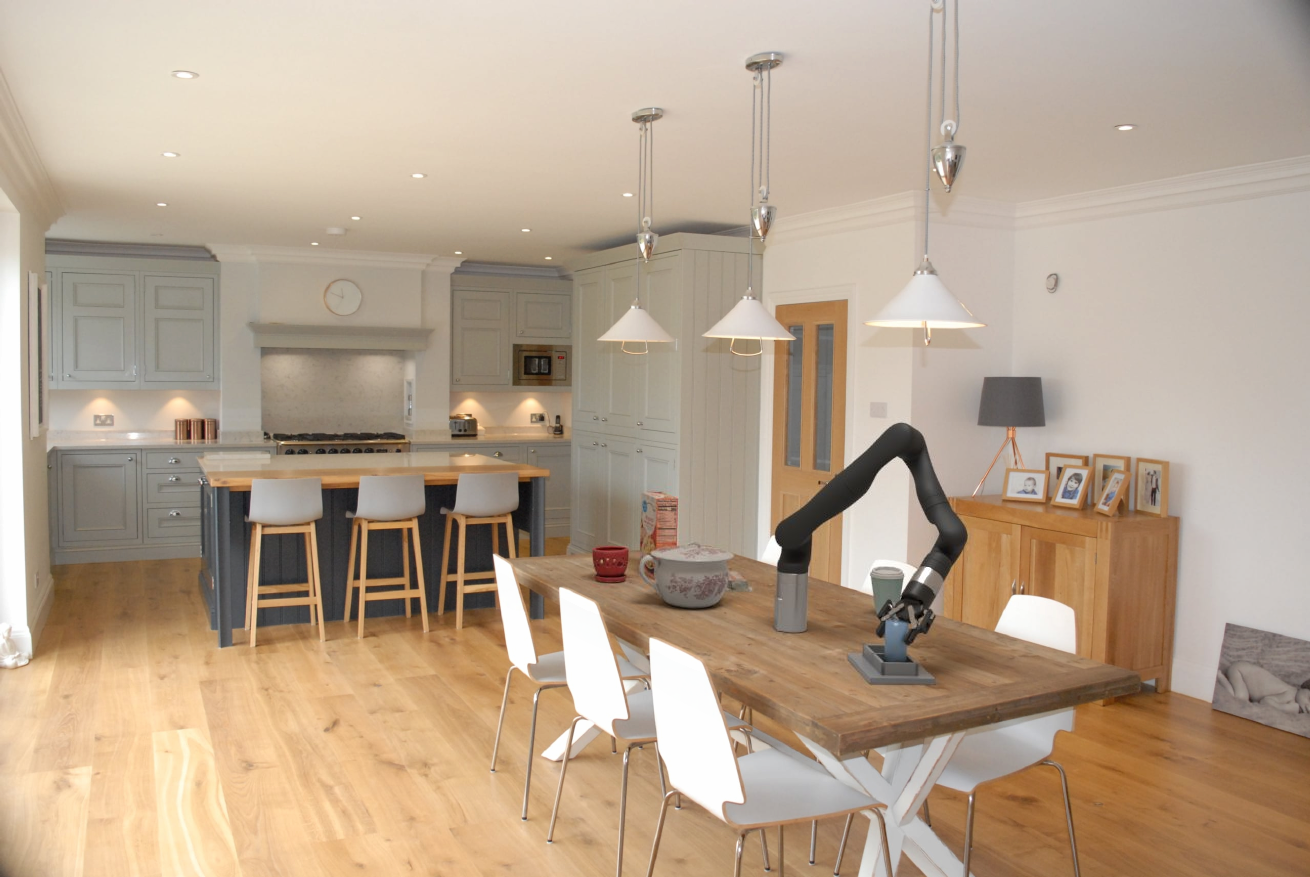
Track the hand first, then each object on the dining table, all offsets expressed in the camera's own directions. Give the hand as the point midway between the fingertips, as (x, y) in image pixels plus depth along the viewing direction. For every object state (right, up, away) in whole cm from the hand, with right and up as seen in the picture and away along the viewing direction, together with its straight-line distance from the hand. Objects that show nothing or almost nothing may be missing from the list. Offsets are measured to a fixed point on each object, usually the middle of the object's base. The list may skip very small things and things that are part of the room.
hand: (892, 639), depth 239 cm
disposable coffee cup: (+14, -7, +67) cm, 69 cm away
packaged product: (-30, -4, +107) cm, 112 cm away
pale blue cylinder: (+1, -8, +1) cm, 8 cm away
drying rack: (+1, -9, +5) cm, 11 cm away
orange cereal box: (-58, -2, +127) cm, 140 cm away
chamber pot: (-47, -5, +77) cm, 90 cm away
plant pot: (-75, -2, +112) cm, 135 cm away
